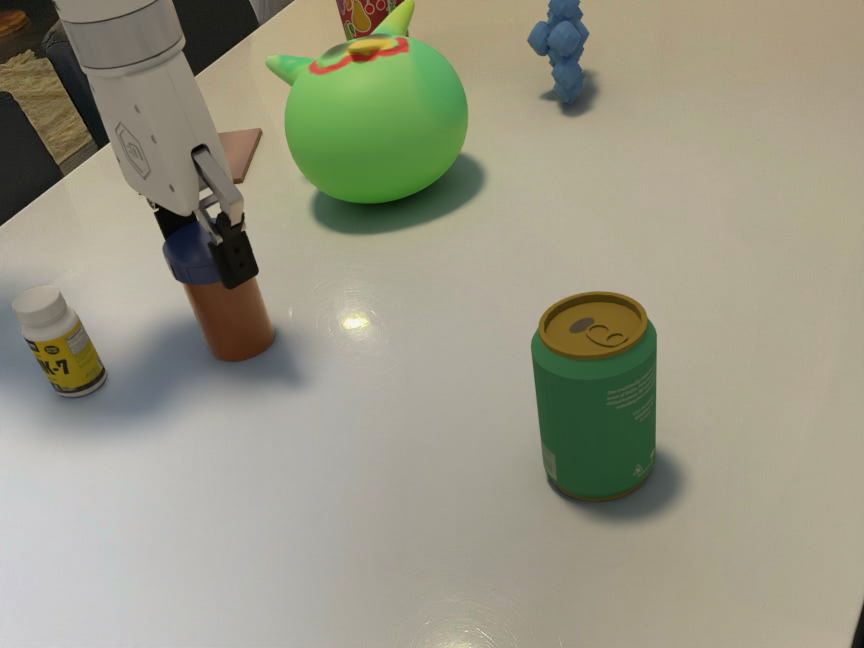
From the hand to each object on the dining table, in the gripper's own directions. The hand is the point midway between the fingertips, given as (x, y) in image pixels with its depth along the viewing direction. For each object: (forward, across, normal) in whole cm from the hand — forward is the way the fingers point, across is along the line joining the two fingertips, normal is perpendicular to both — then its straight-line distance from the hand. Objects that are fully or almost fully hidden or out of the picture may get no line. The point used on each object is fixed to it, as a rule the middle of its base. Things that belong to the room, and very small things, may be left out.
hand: (214, 264), depth 80 cm
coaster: (+7, -34, +17) cm, 39 cm away
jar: (+8, 0, 0) cm, 8 cm away
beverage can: (+8, +36, +8) cm, 38 cm away
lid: (-2, 0, 0) cm, 2 cm away
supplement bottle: (+8, -7, -13) cm, 17 cm away
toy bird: (+8, -10, +25) cm, 28 cm away
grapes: (+8, -9, +50) cm, 52 cm away
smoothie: (+8, -31, +42) cm, 52 cm away
